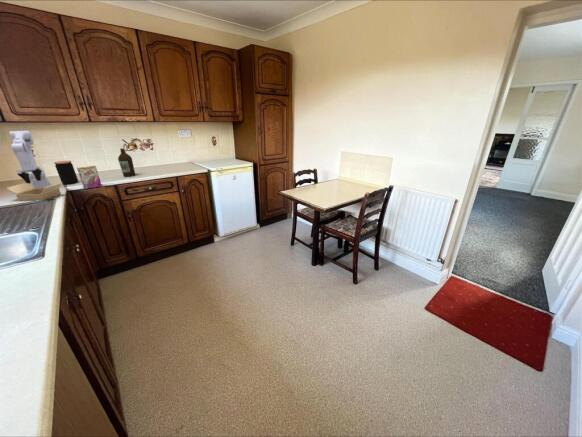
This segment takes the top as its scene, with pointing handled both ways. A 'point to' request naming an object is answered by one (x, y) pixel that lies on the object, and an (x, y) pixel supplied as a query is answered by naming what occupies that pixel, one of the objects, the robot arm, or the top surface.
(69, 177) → the coffee jar
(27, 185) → the flap
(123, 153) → the olive oil
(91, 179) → the candy bar box
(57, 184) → the flap
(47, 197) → the carton
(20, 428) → the top surface
